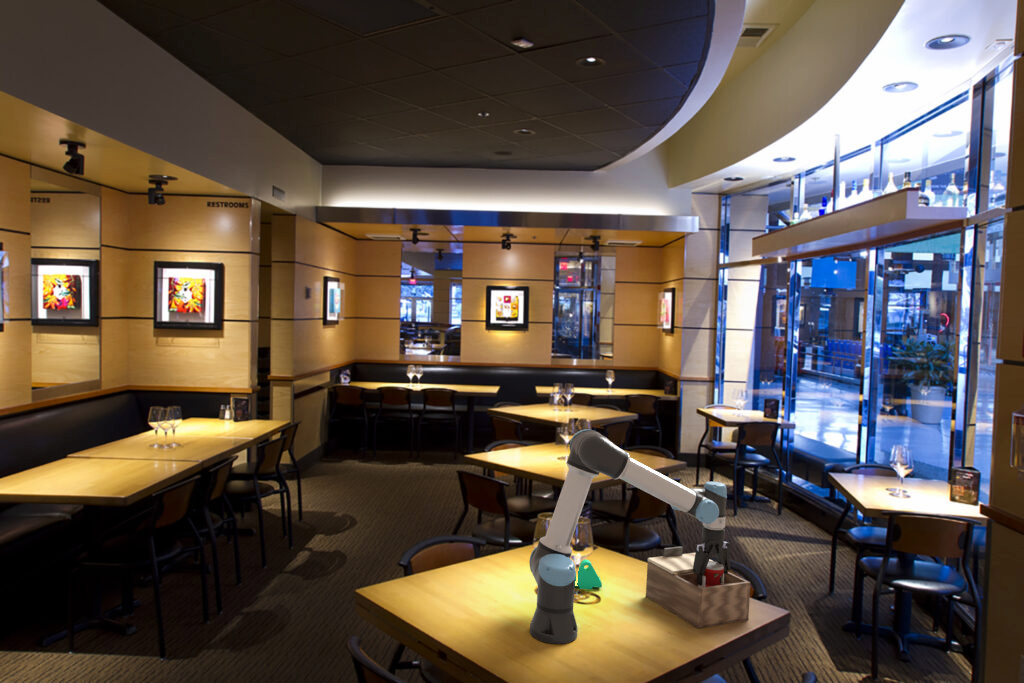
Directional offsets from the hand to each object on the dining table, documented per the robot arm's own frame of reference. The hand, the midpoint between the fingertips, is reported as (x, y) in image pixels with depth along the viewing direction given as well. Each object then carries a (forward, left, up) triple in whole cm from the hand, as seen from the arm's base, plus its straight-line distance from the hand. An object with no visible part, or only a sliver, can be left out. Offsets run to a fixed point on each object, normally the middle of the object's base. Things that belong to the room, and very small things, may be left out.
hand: (710, 592), depth 230 cm
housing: (0, +7, -8) cm, 11 cm away
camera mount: (-28, +38, -9) cm, 48 cm away
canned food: (0, 0, -1) cm, 1 cm away
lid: (0, +14, +5) cm, 15 cm away
